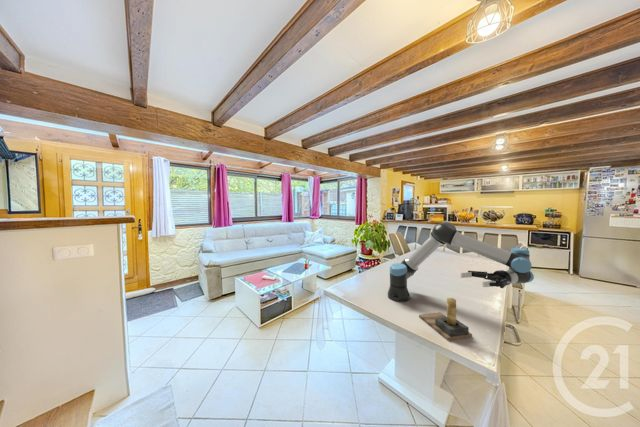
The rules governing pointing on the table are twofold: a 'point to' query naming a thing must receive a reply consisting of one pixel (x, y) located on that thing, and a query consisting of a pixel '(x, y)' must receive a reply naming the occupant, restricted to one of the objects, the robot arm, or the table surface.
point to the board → (432, 324)
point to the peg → (451, 312)
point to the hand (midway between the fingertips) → (471, 279)
